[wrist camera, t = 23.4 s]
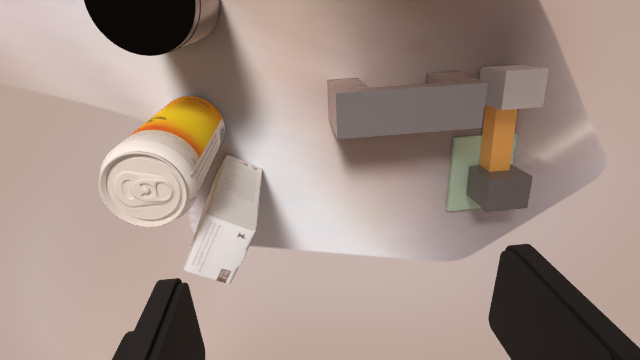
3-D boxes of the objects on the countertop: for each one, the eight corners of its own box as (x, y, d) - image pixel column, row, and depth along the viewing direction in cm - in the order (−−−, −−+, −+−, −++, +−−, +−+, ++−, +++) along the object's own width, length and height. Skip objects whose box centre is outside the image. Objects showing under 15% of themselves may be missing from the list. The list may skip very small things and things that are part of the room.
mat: (453, 137, 40) (455, 138, 39) (515, 132, 40) (518, 133, 40) (445, 209, 44) (447, 211, 43) (502, 204, 44) (504, 206, 44)
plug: (478, 67, 37) (504, 70, 33) (520, 64, 37) (551, 67, 33) (466, 194, 42) (487, 212, 38) (503, 191, 42) (528, 208, 38)
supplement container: (237, 6, 33) (218, 5, 23) (186, 59, 34) (149, 77, 25) (177, -62, 30) (128, -95, 21) (125, -2, 32) (57, -8, 22)
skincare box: (225, 152, 38) (201, 209, 27) (265, 168, 39) (258, 229, 28) (205, 200, 40) (177, 271, 29) (244, 214, 42) (230, 287, 31)
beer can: (159, 92, 35) (82, 145, 22) (224, 95, 36) (188, 147, 22) (166, 152, 38) (101, 232, 24) (227, 153, 38) (196, 232, 25)
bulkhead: (327, 79, 36) (335, 93, 30) (455, 71, 37) (487, 82, 31) (329, 119, 38) (337, 139, 32) (451, 110, 39) (481, 128, 33)
